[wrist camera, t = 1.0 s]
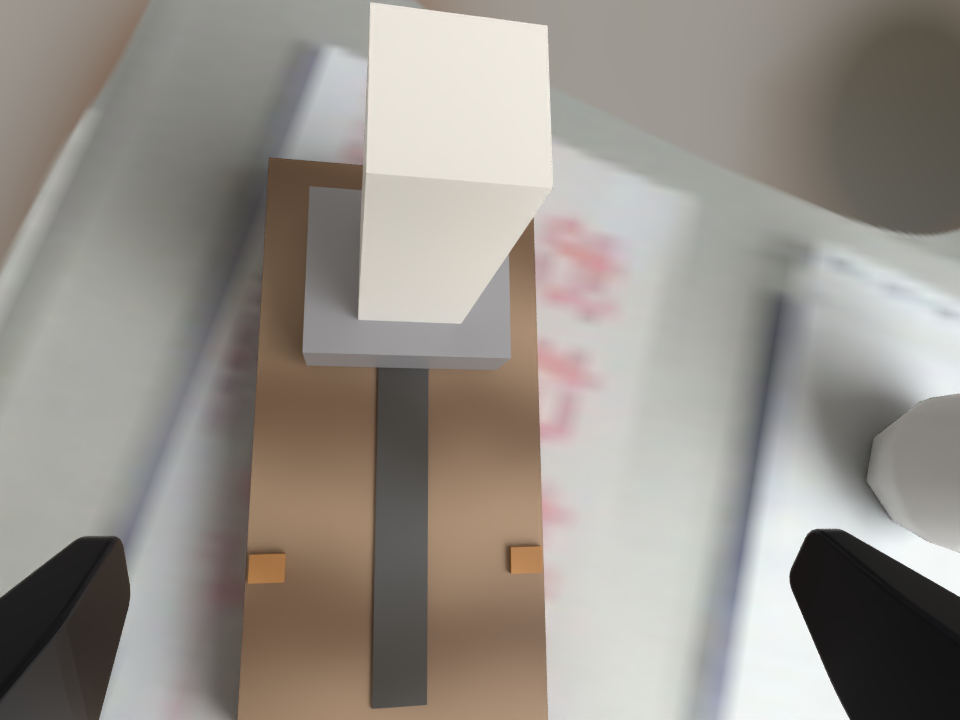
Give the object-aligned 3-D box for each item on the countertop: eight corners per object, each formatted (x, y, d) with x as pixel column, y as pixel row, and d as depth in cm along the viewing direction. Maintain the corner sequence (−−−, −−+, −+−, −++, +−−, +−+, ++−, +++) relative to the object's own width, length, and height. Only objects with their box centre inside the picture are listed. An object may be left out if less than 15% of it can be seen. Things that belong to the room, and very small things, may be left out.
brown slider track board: (530, 709, 22) (549, 732, 20) (246, 731, 20) (234, 760, 18) (518, 203, 25) (534, 176, 23) (275, 184, 23) (268, 154, 21)
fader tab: (496, 370, 21) (642, 251, 11) (306, 365, 20) (260, 226, 10) (493, 226, 22) (626, -13, 12) (313, 214, 21) (277, -65, 11)
